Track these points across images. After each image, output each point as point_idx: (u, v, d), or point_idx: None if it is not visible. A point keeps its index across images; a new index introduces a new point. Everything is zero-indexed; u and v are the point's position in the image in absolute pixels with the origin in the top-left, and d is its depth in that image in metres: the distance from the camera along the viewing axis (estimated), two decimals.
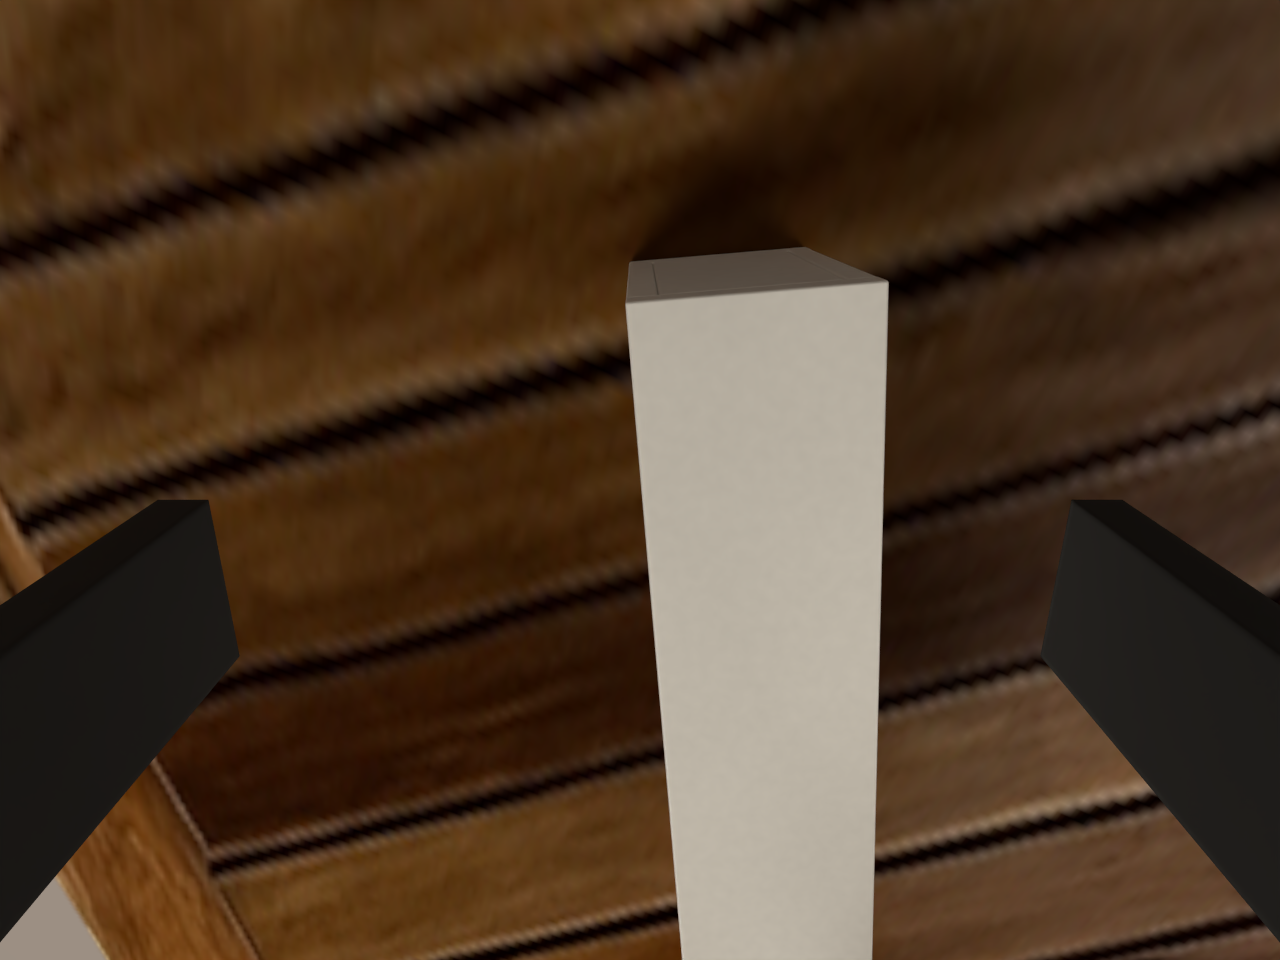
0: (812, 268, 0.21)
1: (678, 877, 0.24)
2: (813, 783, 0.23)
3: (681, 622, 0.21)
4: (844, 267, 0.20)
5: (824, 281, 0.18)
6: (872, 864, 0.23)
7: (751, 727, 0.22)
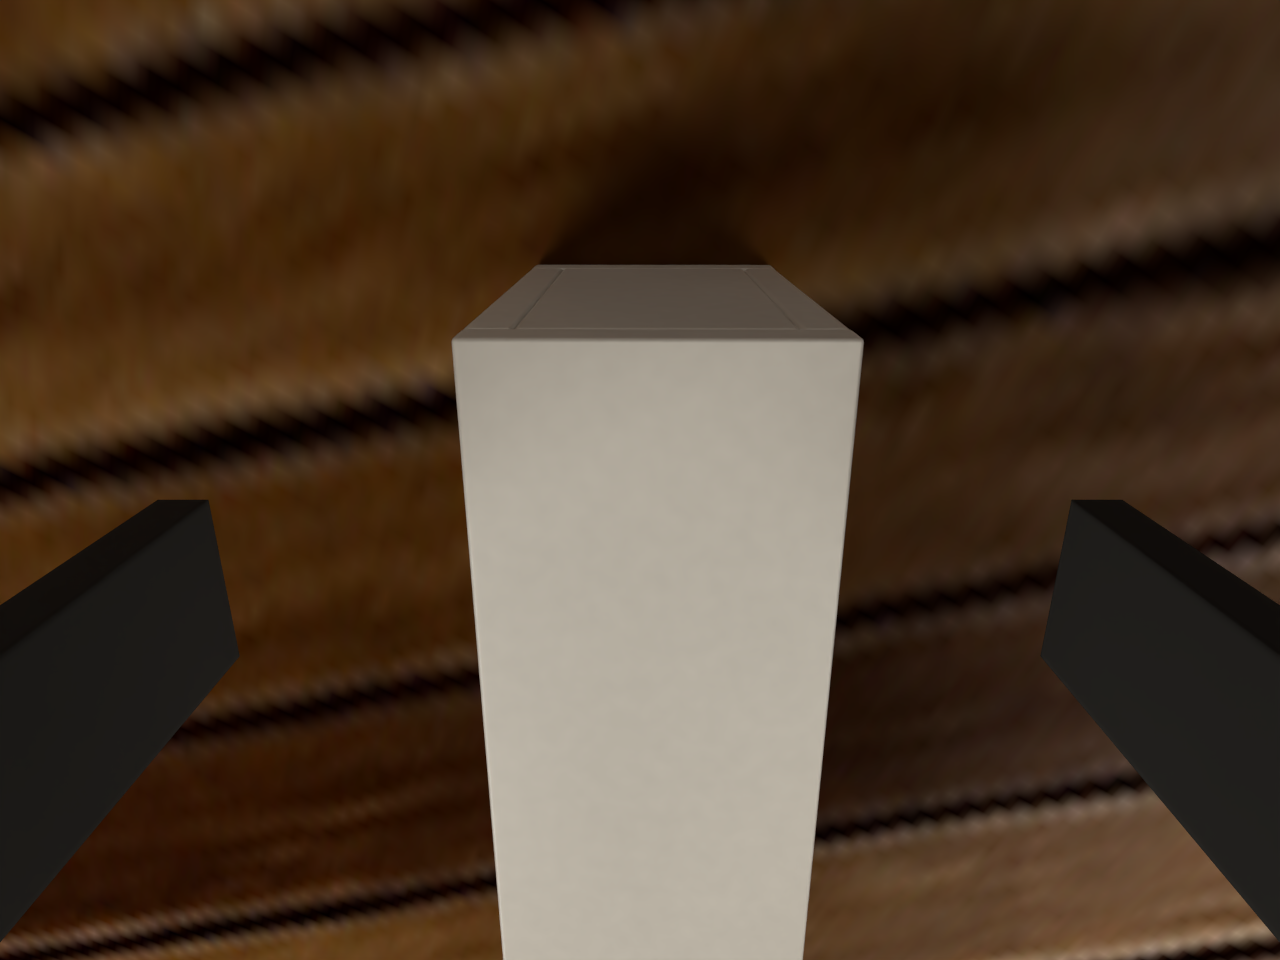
0: (761, 302, 0.14)
1: None
2: None
3: (530, 799, 0.14)
4: (806, 305, 0.14)
5: (767, 329, 0.12)
6: None
7: (626, 940, 0.15)
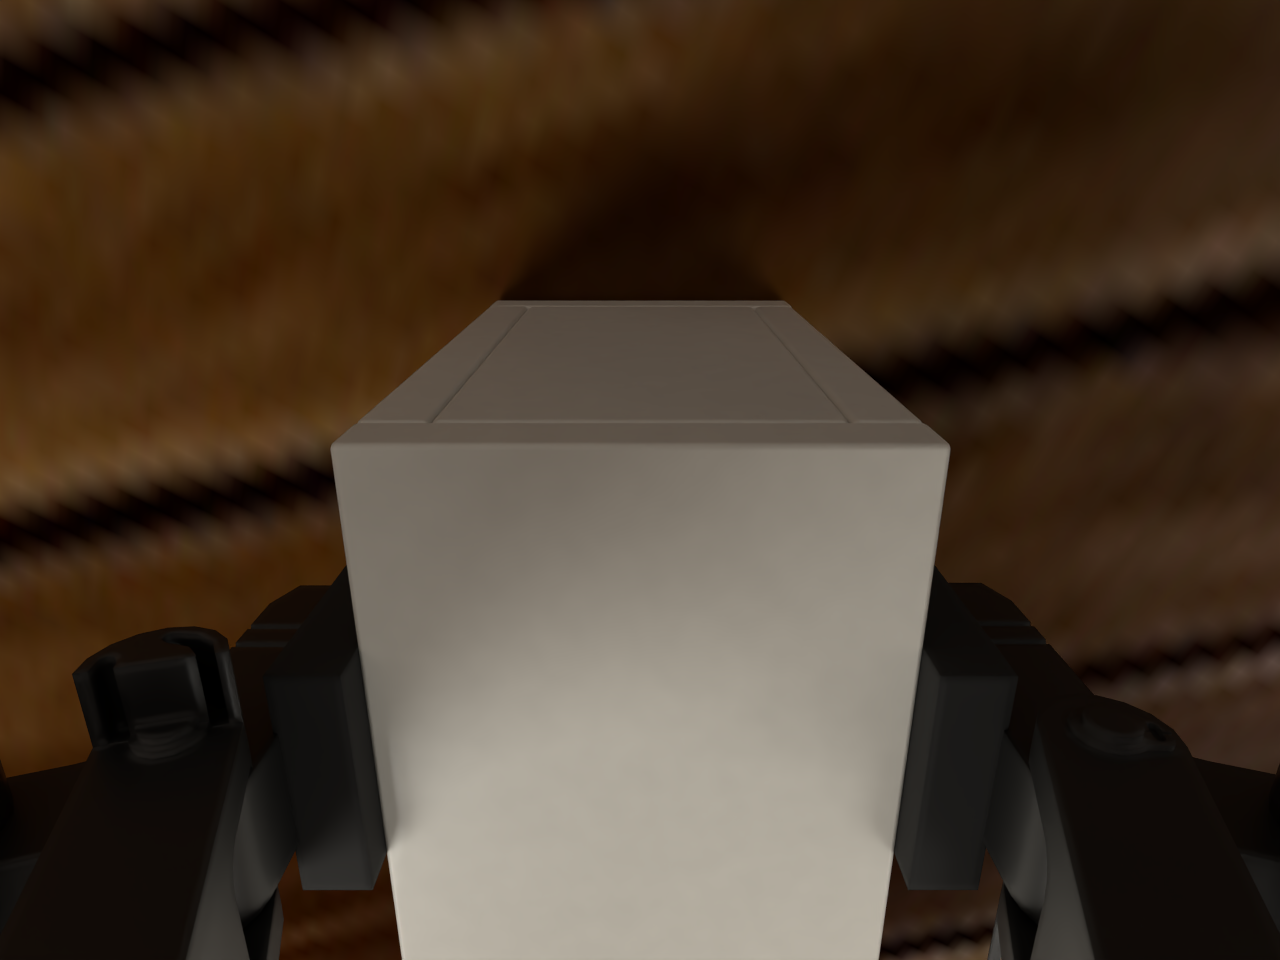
0: (784, 366, 0.11)
1: None
2: None
3: None
4: (847, 372, 0.10)
5: (802, 424, 0.08)
6: None
7: None
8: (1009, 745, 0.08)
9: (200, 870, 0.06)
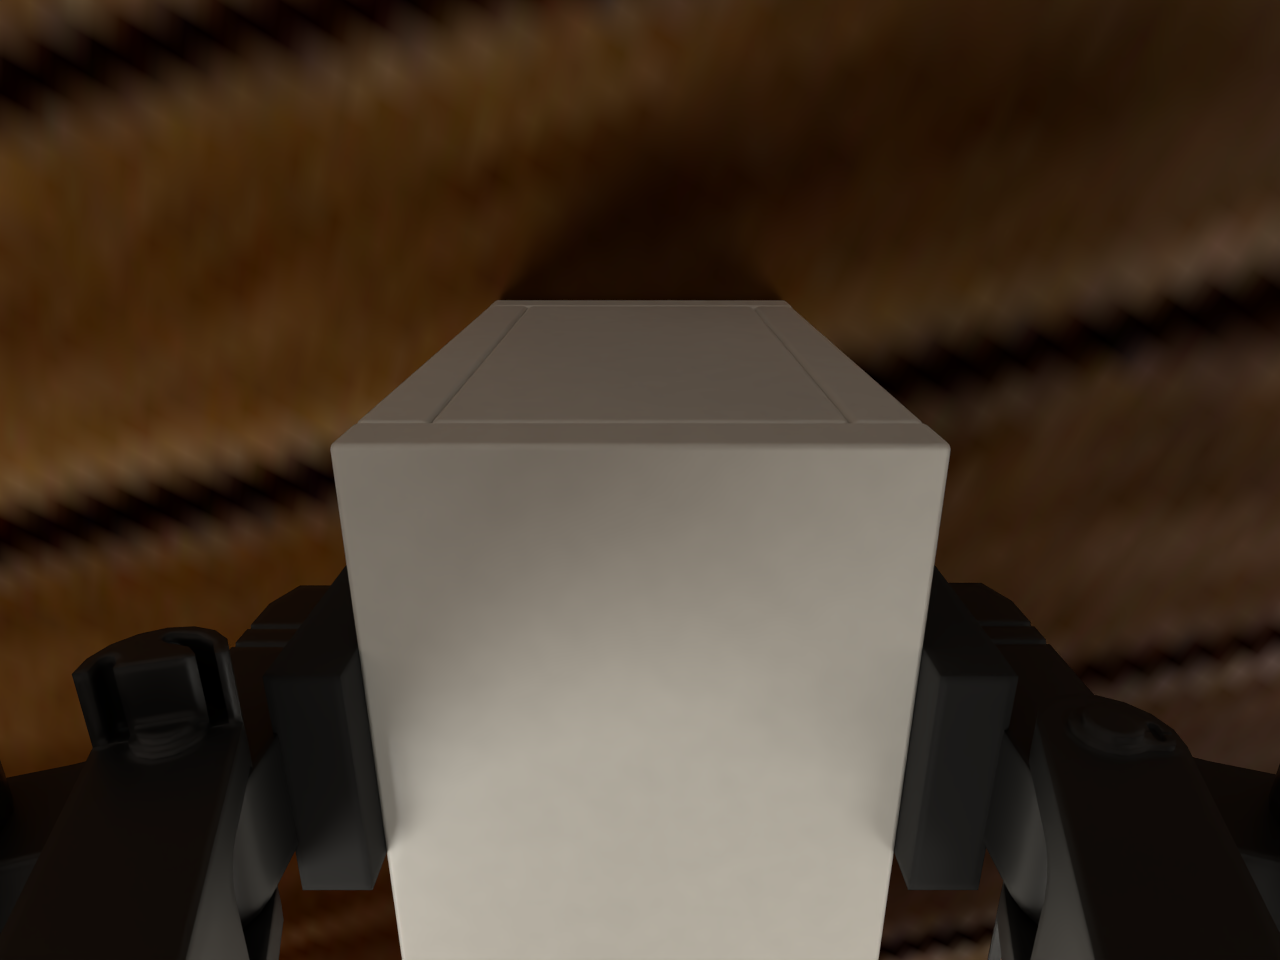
0: (785, 366, 0.11)
1: None
2: None
3: None
4: (848, 372, 0.10)
5: (802, 424, 0.08)
6: None
7: None
8: (1009, 745, 0.08)
9: (199, 870, 0.06)
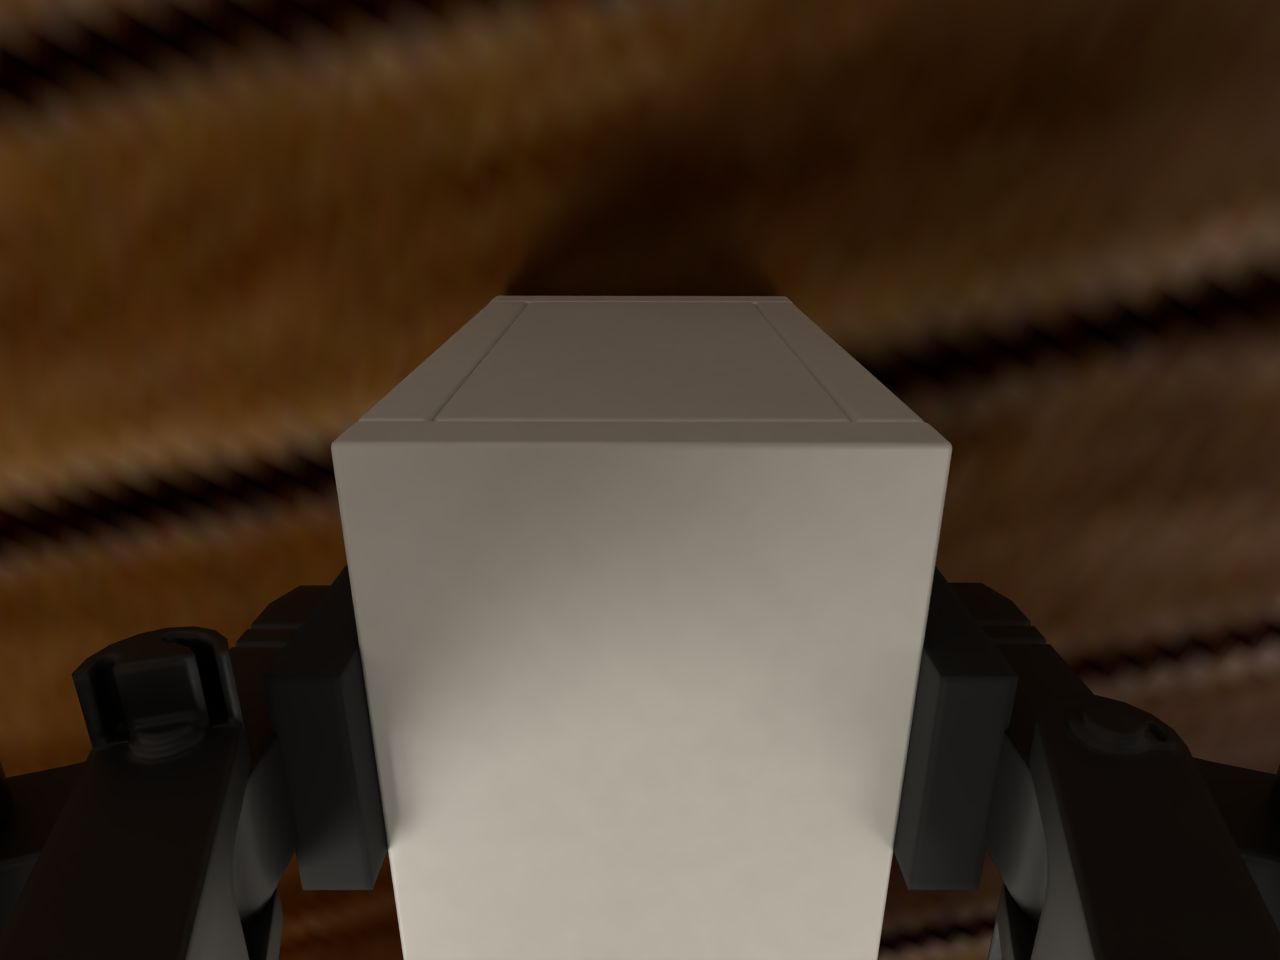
0: (786, 363, 0.11)
1: None
2: None
3: None
4: (849, 370, 0.10)
5: (803, 422, 0.08)
6: None
7: None
8: (1009, 746, 0.08)
9: (199, 870, 0.06)
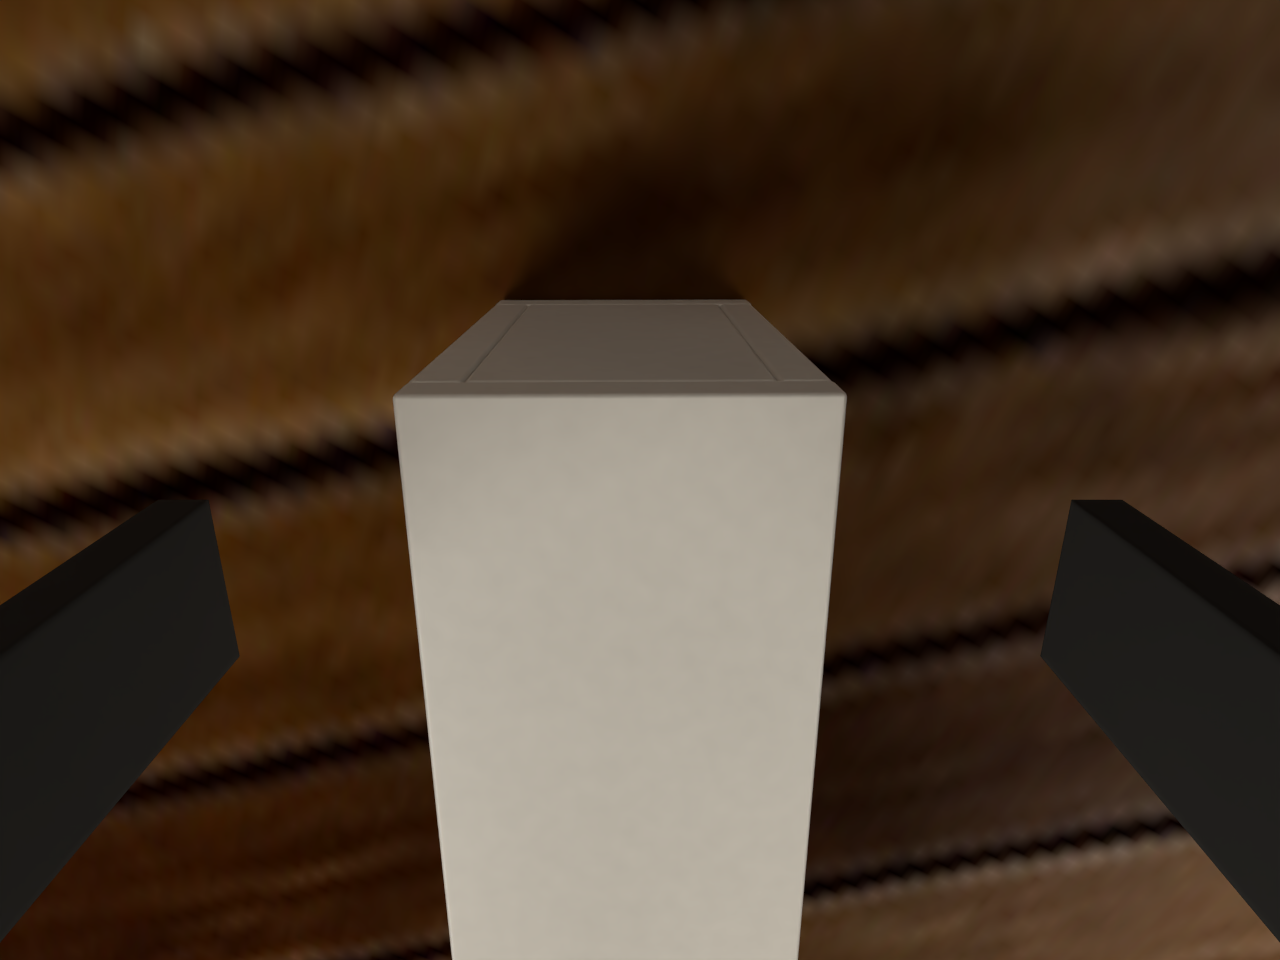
0: (736, 346, 0.13)
1: None
2: None
3: (489, 891, 0.13)
4: (784, 350, 0.13)
5: (741, 381, 0.11)
6: None
7: None
8: None
9: None
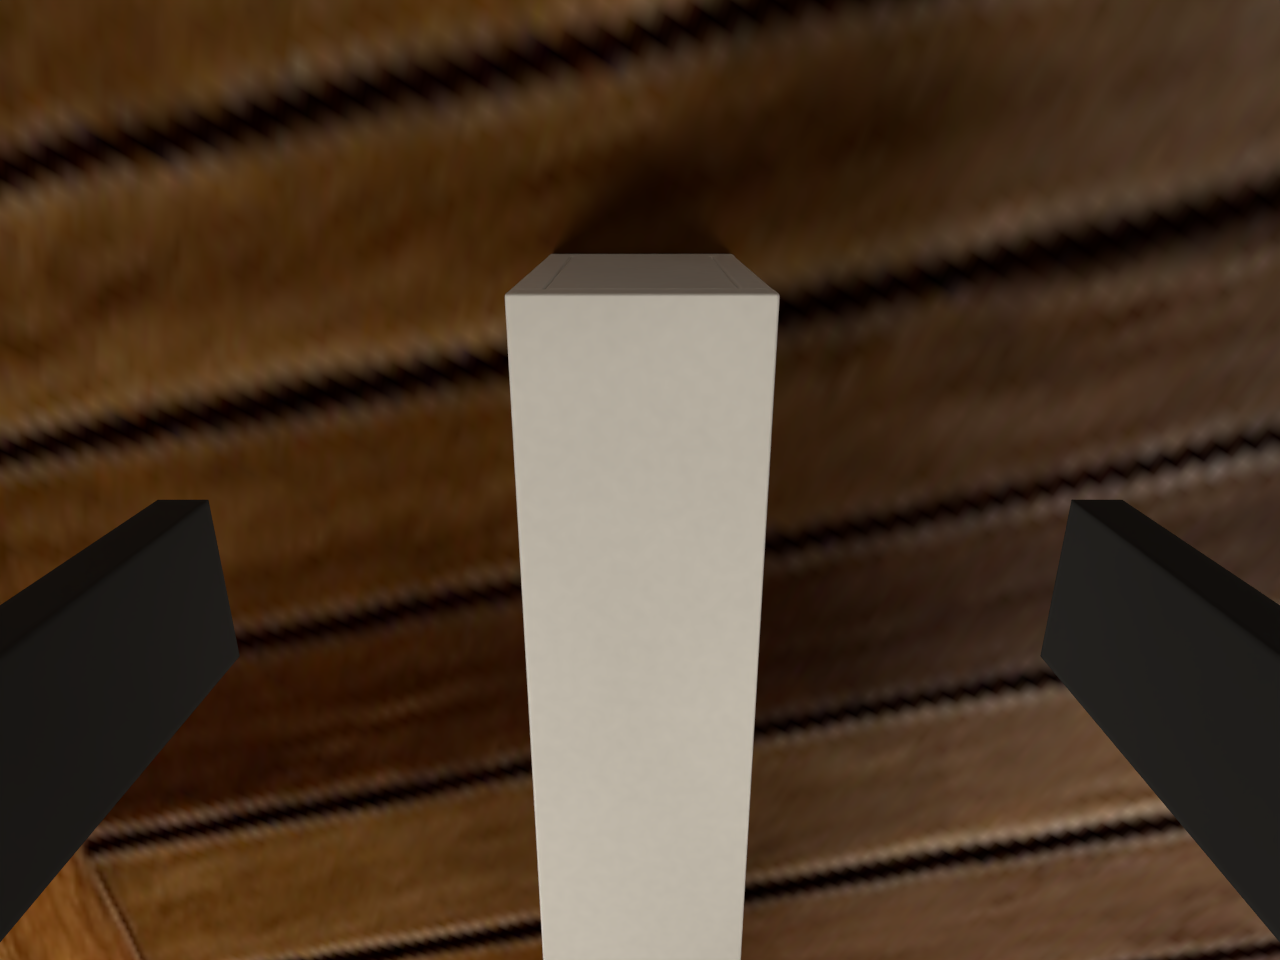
0: (717, 275, 0.20)
1: (542, 892, 0.23)
2: (684, 805, 0.22)
3: (553, 631, 0.20)
4: (749, 277, 0.20)
5: (716, 289, 0.18)
6: (742, 892, 0.23)
7: (622, 744, 0.21)
8: None
9: None
